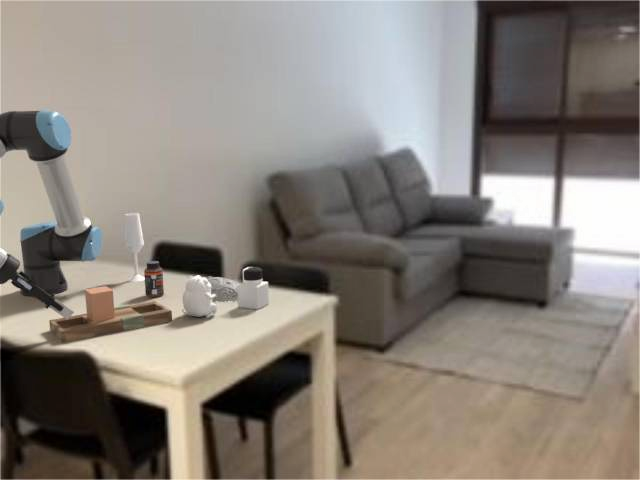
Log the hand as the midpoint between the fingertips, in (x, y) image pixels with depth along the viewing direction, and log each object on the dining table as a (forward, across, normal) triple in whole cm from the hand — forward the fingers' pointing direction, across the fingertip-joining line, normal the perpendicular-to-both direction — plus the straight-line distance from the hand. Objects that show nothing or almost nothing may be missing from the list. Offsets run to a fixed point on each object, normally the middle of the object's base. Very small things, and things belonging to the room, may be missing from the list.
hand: (70, 315), depth 190 cm
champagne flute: (+30, -49, +22) cm, 61 cm away
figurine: (+29, +6, +21) cm, 36 cm away
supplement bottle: (+28, -24, +20) cm, 42 cm away
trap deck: (+12, -1, +4) cm, 13 cm away
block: (+8, -1, +4) cm, 9 cm away
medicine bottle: (+42, +6, +34) cm, 54 cm away
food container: (+41, -12, +32) cm, 53 cm away
